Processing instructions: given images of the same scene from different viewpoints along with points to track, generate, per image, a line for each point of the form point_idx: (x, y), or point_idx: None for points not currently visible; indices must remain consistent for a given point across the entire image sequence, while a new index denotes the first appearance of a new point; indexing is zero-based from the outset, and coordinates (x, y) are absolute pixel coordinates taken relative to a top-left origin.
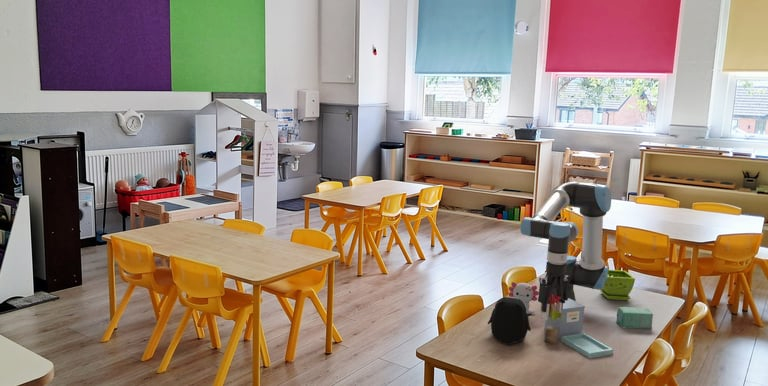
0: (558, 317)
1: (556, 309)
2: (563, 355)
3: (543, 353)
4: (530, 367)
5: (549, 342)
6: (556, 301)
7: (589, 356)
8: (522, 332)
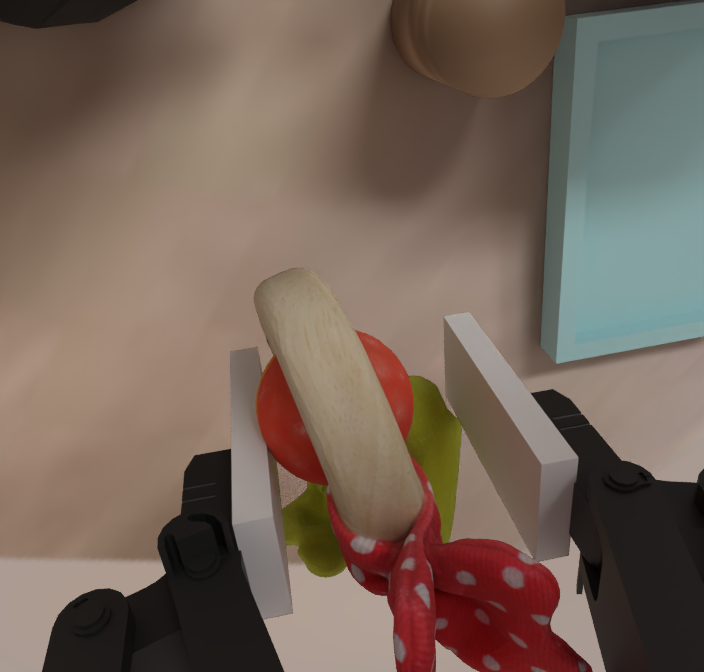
0: (450, 397)
1: (483, 402)
2: (394, 286)
3: (253, 232)
4: (43, 426)
5: (411, 65)
6: (448, 644)
7: (547, 352)
8: (98, 19)
